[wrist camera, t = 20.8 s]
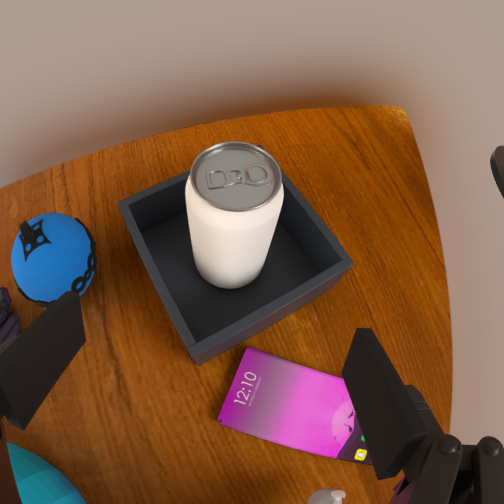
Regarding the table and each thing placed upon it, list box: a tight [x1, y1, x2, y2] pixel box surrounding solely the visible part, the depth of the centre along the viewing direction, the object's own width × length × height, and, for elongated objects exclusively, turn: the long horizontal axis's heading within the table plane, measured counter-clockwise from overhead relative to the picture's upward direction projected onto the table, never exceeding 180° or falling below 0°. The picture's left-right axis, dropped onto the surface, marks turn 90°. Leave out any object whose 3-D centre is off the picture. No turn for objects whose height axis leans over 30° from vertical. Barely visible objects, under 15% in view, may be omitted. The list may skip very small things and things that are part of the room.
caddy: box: [118, 144, 354, 366], centre depth 27 cm, size 15×15×6 cm
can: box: [185, 142, 284, 289], centre depth 24 cm, size 6×6×12 cm
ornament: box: [11, 213, 97, 308], centre depth 23 cm, size 9×9×10 cm
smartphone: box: [218, 347, 373, 465], centre depth 24 cm, size 7×15×1 cm, turn 69°
